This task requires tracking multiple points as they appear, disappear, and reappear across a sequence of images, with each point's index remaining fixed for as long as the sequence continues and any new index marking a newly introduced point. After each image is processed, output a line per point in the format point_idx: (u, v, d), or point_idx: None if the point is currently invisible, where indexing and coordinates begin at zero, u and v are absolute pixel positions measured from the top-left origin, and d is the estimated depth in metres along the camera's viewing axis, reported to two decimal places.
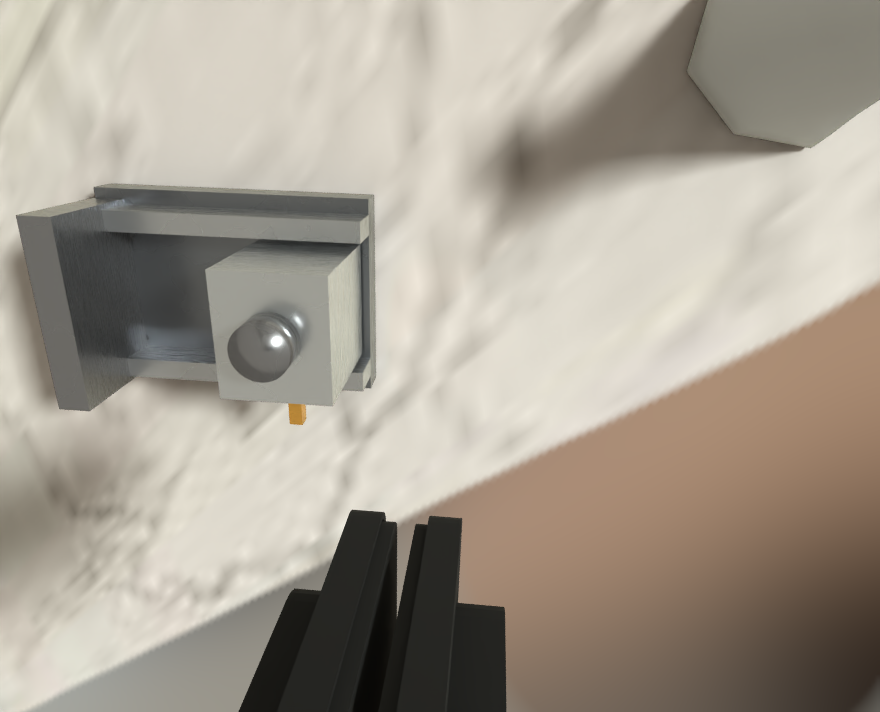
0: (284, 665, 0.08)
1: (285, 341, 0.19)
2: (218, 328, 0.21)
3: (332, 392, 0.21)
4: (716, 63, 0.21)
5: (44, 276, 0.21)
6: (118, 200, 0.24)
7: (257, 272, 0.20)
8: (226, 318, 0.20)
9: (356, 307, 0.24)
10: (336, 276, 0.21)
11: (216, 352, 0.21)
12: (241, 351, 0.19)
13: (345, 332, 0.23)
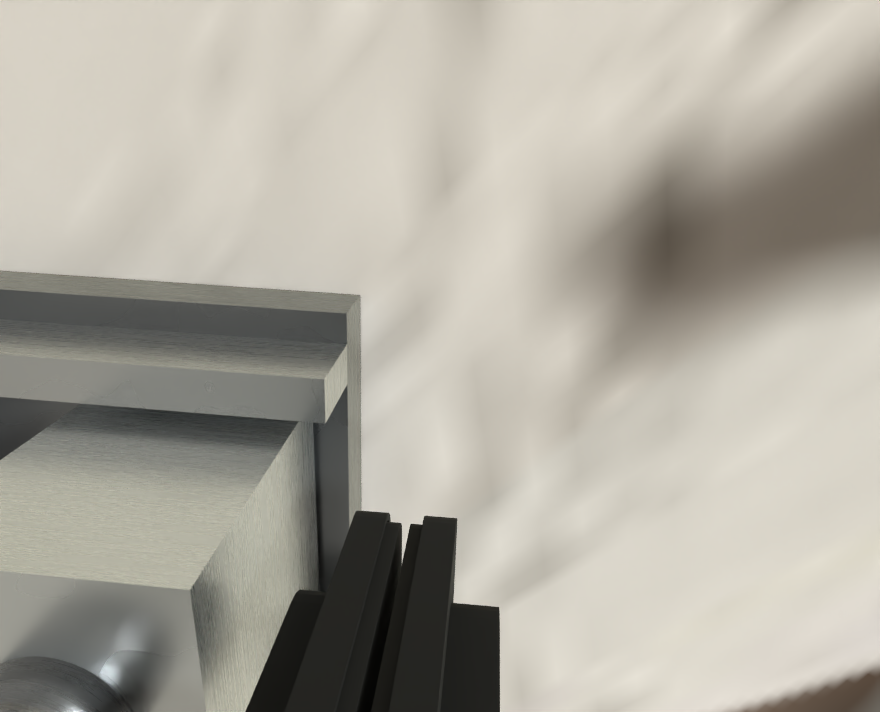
0: (290, 666, 0.08)
1: None
2: None
3: None
4: None
5: None
6: None
7: None
8: None
9: (302, 531, 0.12)
10: (230, 548, 0.08)
11: None
12: None
13: (267, 626, 0.10)
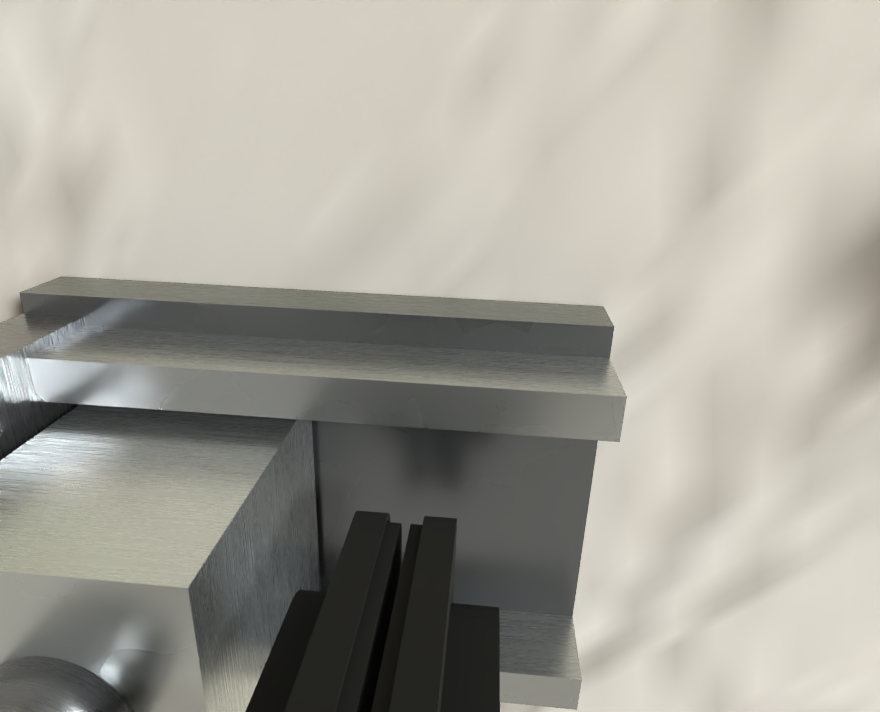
0: (290, 666, 0.08)
1: None
2: None
3: None
4: None
5: None
6: (70, 323, 0.11)
7: None
8: None
9: (302, 530, 0.12)
10: (228, 546, 0.08)
11: None
12: None
13: (268, 624, 0.10)
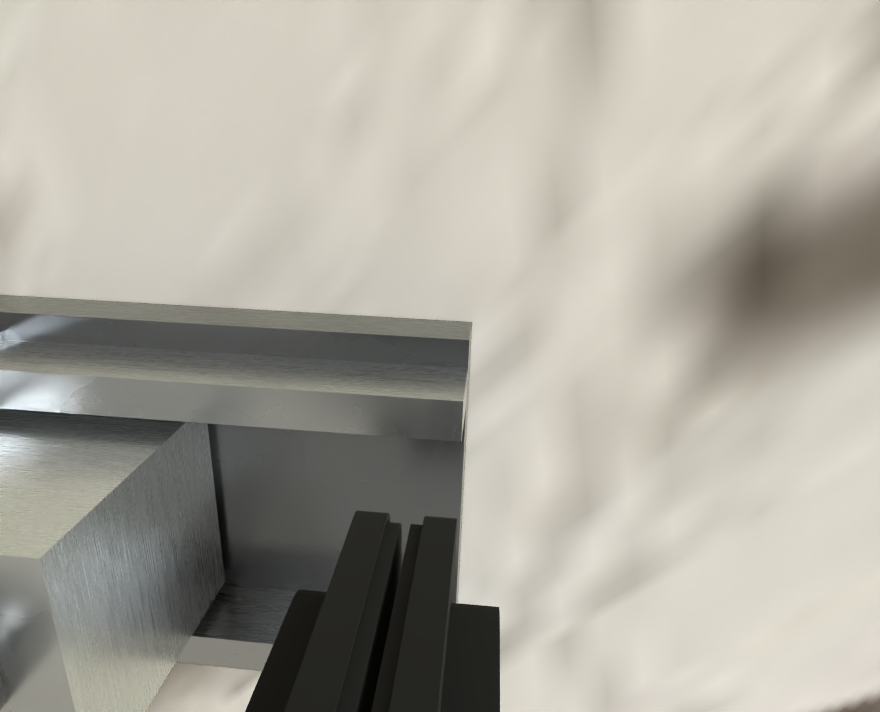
0: (290, 666, 0.08)
1: None
2: None
3: None
4: None
5: None
6: None
7: None
8: None
9: (196, 523, 0.13)
10: (92, 528, 0.09)
11: None
12: None
13: (148, 603, 0.11)
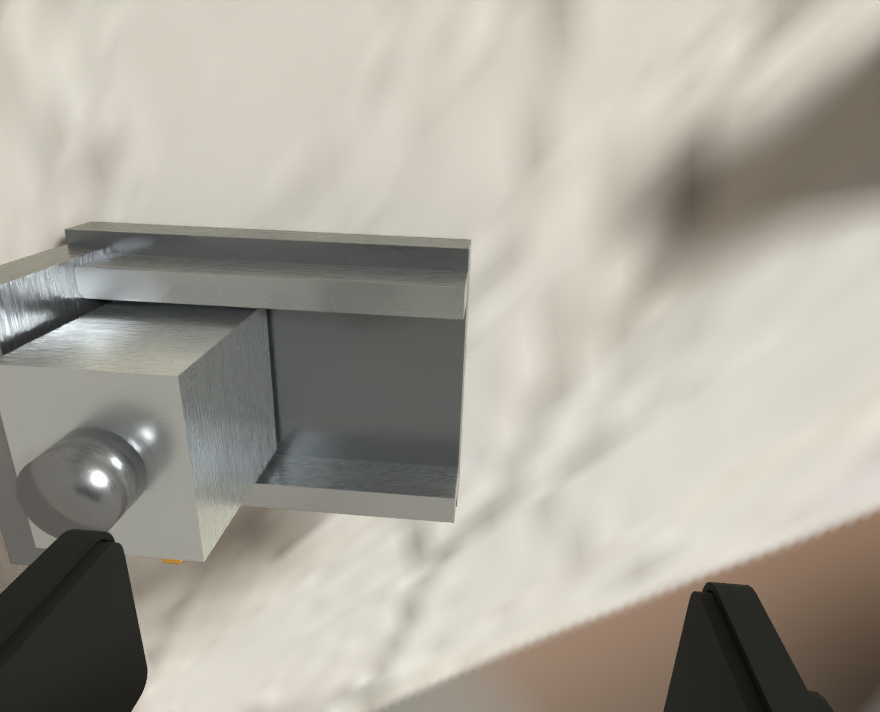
0: None
1: (105, 484, 0.12)
2: (19, 449, 0.13)
3: (202, 542, 0.14)
4: None
5: None
6: (100, 249, 0.17)
7: (67, 369, 0.12)
8: (29, 435, 0.13)
9: (260, 393, 0.17)
10: (203, 368, 0.13)
11: None
12: (38, 497, 0.12)
13: (232, 440, 0.15)
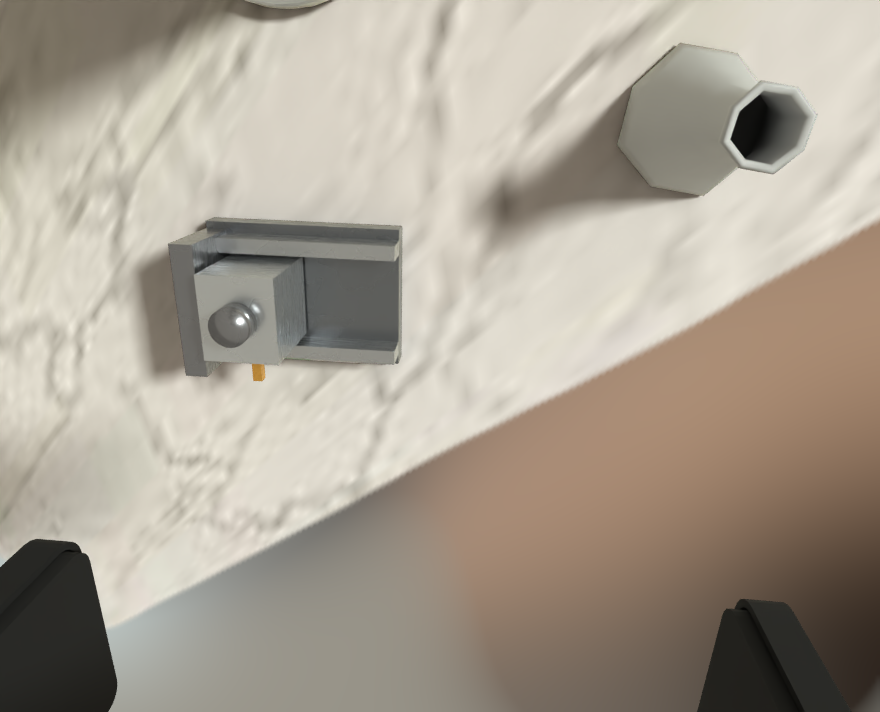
0: None
1: (244, 320, 0.30)
2: (202, 313, 0.31)
3: (278, 355, 0.32)
4: (633, 143, 0.31)
5: (183, 284, 0.32)
6: (223, 230, 0.35)
7: (227, 276, 0.30)
8: (207, 306, 0.31)
9: (299, 300, 0.35)
10: (280, 279, 0.31)
11: (201, 329, 0.32)
12: (216, 327, 0.30)
13: (289, 316, 0.33)
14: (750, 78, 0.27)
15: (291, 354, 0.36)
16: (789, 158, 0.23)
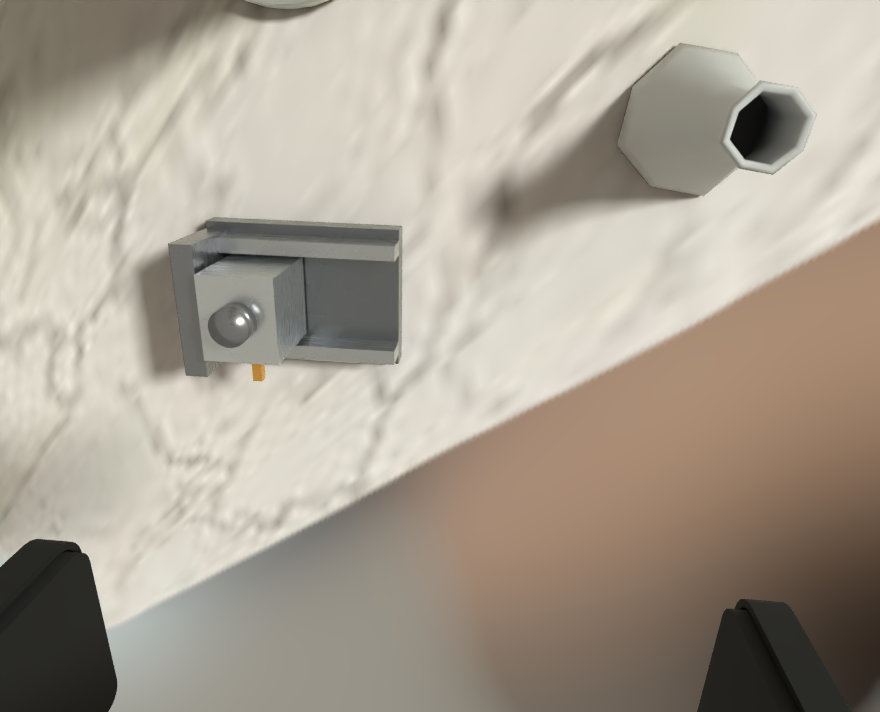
0: None
1: (244, 320, 0.30)
2: (202, 313, 0.31)
3: (278, 356, 0.32)
4: (633, 143, 0.31)
5: (183, 284, 0.32)
6: (223, 230, 0.35)
7: (227, 276, 0.30)
8: (207, 306, 0.31)
9: (299, 300, 0.35)
10: (280, 279, 0.31)
11: (201, 329, 0.32)
12: (216, 327, 0.30)
13: (289, 316, 0.33)
14: (750, 78, 0.27)
15: (291, 354, 0.36)
16: (789, 158, 0.23)
